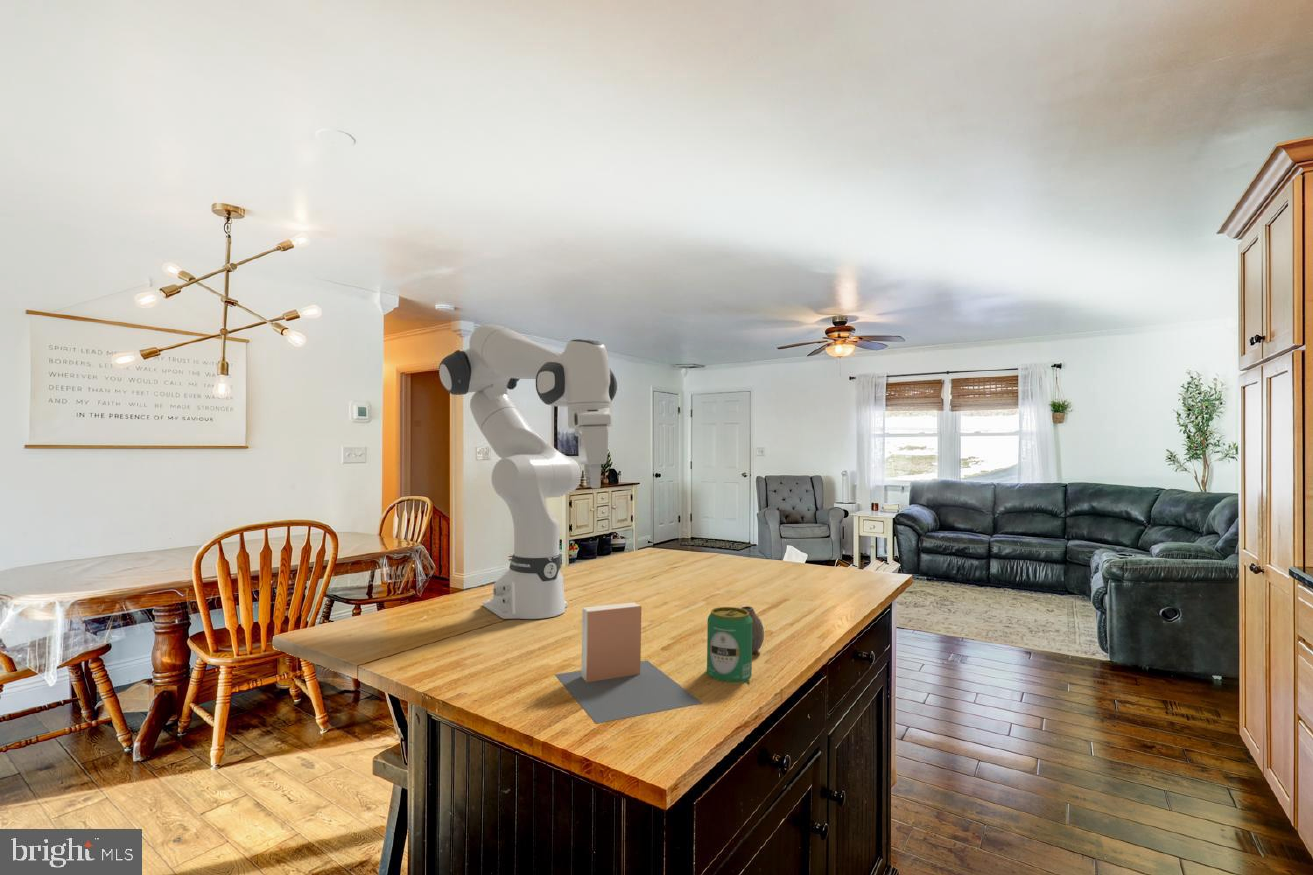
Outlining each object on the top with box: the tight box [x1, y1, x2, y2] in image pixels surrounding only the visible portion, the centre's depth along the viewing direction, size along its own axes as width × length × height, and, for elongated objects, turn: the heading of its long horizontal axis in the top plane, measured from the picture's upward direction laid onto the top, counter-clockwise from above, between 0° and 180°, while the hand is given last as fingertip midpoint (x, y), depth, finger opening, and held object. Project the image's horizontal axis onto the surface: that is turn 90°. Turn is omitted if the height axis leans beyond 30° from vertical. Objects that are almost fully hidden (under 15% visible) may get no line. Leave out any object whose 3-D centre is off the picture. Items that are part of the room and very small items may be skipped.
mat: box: [554, 660, 703, 725], centre depth 103 cm, size 21×18×1 cm
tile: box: [580, 601, 642, 682], centre depth 109 cm, size 3×10×12 cm, turn 116°
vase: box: [740, 605, 765, 654], centre depth 126 cm, size 7×7×9 cm
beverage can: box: [706, 606, 753, 684], centre depth 111 cm, size 8×8×12 cm
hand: (593, 487), depth 124 cm, fingers open, 8 cm apart
